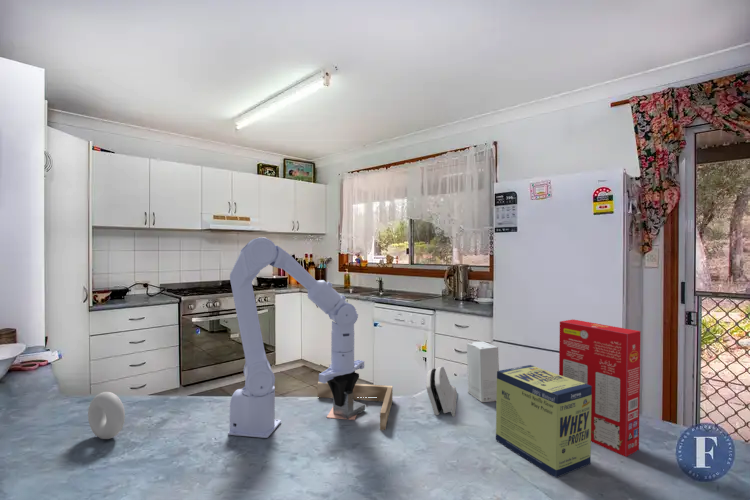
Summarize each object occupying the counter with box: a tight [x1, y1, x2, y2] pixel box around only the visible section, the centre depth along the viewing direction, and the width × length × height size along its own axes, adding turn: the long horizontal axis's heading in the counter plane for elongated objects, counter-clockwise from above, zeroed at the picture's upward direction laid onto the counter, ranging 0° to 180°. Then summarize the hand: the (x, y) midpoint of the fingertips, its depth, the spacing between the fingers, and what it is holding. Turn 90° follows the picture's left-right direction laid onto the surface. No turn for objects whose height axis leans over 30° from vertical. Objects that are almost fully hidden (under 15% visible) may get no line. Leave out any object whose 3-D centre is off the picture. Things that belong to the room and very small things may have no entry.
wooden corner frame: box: [316, 381, 394, 431], centre depth 98 cm, size 21×17×4 cm
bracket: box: [332, 390, 366, 420], centre depth 97 cm, size 6×5×6 cm
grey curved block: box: [425, 366, 458, 418], centre depth 104 cm, size 17×5×10 cm, turn 166°
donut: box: [87, 391, 126, 440], centre depth 83 cm, size 10×3×10 cm, turn 65°
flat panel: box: [326, 407, 357, 421], centre depth 97 cm, size 7×8×1 cm
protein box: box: [495, 364, 592, 478], centre depth 79 cm, size 10×16×16 cm
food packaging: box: [558, 318, 642, 457], centre depth 85 cm, size 15×5×25 cm, turn 31°
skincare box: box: [466, 341, 500, 403], centre depth 108 cm, size 8×6×15 cm
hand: (342, 403), depth 95 cm, fingers closed on bracket
